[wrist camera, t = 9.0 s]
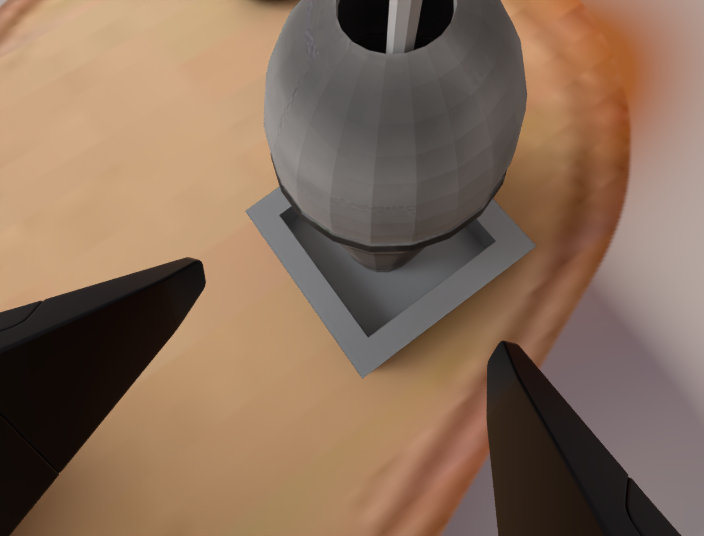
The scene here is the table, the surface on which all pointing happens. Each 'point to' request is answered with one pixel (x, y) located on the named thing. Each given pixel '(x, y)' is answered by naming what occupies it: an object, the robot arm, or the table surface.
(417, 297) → the tray
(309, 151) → the beverage cup
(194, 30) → the table surface
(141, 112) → the table surface
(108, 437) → the table surface
